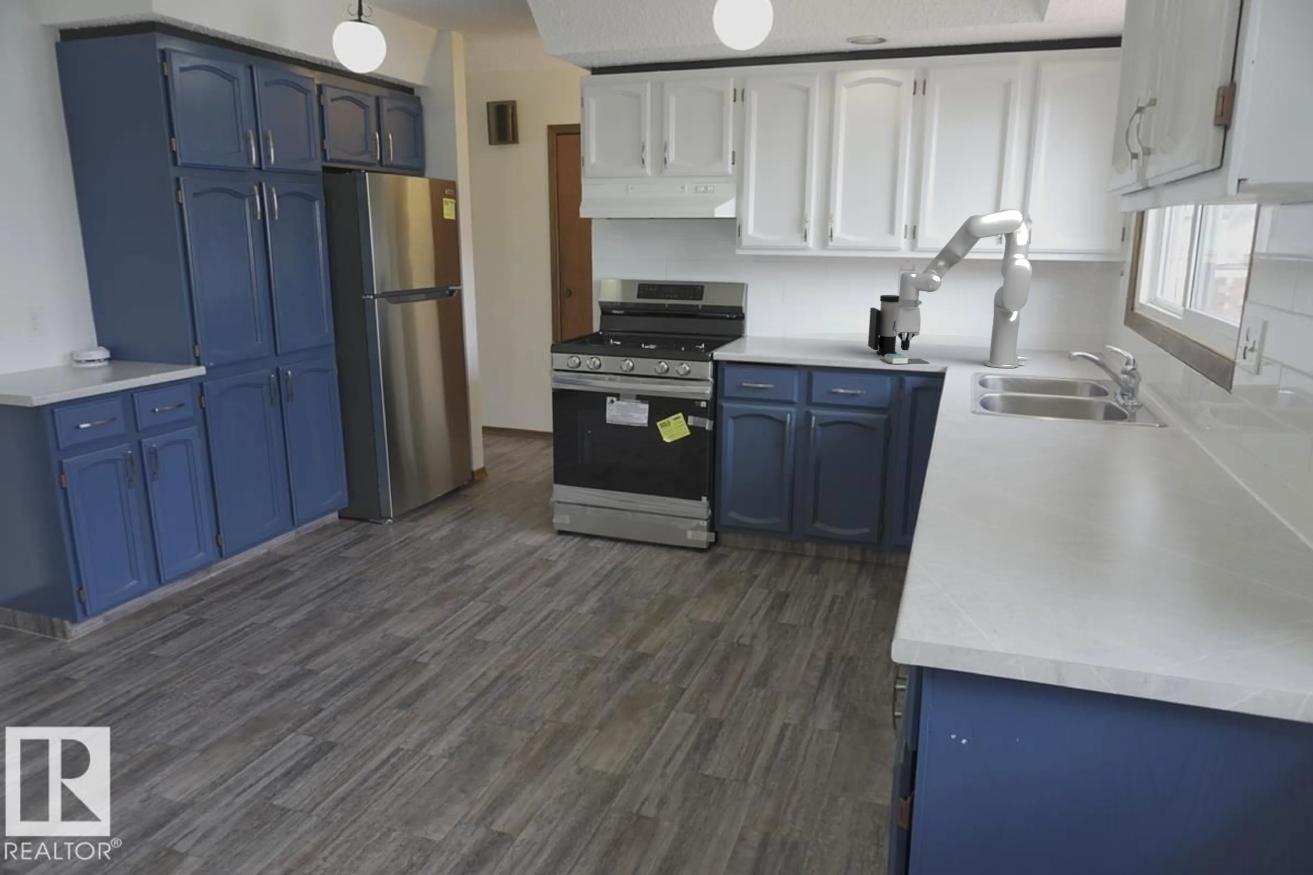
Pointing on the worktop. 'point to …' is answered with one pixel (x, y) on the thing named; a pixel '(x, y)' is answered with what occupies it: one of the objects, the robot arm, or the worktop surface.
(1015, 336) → the robot arm
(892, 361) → the deck
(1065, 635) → the worktop surface
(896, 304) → the light fixture
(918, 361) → the mat
